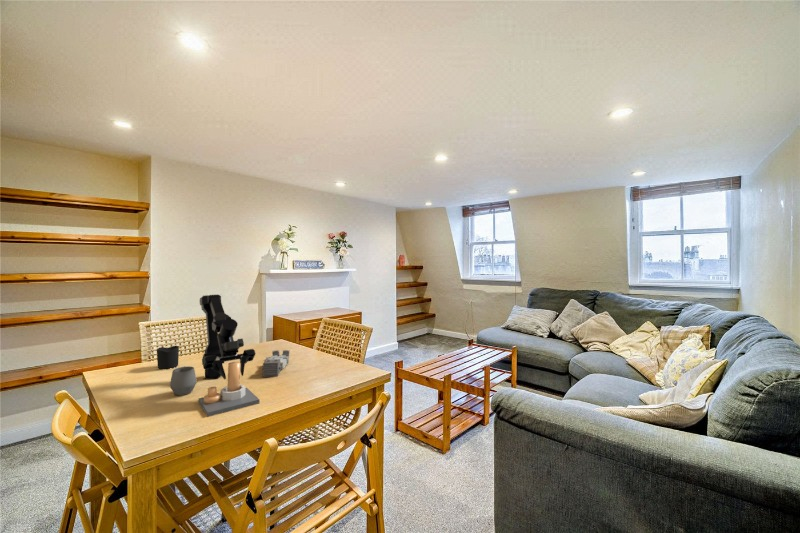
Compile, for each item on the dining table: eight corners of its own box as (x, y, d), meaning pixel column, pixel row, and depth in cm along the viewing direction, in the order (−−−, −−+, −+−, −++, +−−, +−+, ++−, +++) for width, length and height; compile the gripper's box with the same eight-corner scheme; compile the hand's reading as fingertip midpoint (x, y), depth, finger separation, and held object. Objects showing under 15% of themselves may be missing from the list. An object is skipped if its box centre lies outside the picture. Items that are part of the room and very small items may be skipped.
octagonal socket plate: (198, 402, 134) (198, 385, 134) (246, 390, 146) (246, 375, 146) (207, 416, 122) (207, 398, 122) (259, 403, 134) (259, 386, 134)
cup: (172, 390, 146) (172, 367, 146) (198, 387, 149) (198, 364, 149) (167, 398, 137) (167, 374, 137) (194, 395, 141) (194, 371, 140)
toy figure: (291, 348, 194) (282, 362, 165) (291, 360, 194) (282, 376, 165) (270, 348, 192) (257, 363, 163) (270, 360, 192) (257, 377, 163)
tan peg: (224, 396, 136) (225, 363, 136) (234, 393, 140) (235, 361, 140) (232, 398, 134) (233, 365, 134) (241, 395, 138) (243, 362, 138)
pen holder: (167, 363, 181) (167, 345, 181) (183, 364, 180) (183, 346, 180) (152, 369, 172) (152, 349, 172) (168, 370, 171) (168, 350, 171)
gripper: (204, 335, 133) (211, 371, 125) (254, 329, 145) (263, 361, 137) (200, 351, 139) (206, 386, 131) (248, 344, 151) (256, 375, 143)
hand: (234, 377), depth 136 cm, fingers open, 6 cm apart
